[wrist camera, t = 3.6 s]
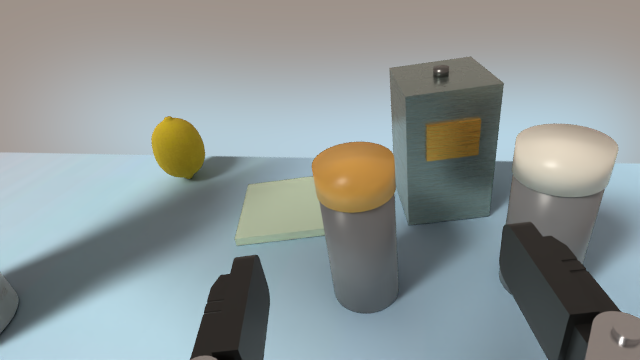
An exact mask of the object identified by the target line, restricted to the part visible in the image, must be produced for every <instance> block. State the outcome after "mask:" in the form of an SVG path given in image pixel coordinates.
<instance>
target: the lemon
mask: <svg viewBox="0 0 640 360" xmlns="http://www.w3.org/2000/svg"><path fill="white" fill-rule="evenodd" d="M152 148H153V153H154V156H155V159H156V161H157V163H158V164H159V166H160V167H161V168H162V169H163V170H164V171H165V172H166V173H168V174H169V175H172V176H175V177H184V178H187V179H190V178H192V177H193V175H194V174H195V173H196V172H197V171H198V170H199V169H200V168H201V167H202V165H203V162H204V159H205V150H204V144H203V141H202V139H201V136H200V135H199V133H198V131H197V130H196V129H195V128H194V126H193V125H192V124H190V123H189V122H187V121H186V120H183V119H179V118H172V117H170V116H168V117H165V118H164V120H163V121H162V122H161V123H160V124H158V125H157V126H156V128H155V129H154V132H153V134H152Z"/></svg>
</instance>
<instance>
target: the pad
mask: <svg viewBox="0 0 640 360" xmlns="http://www.w3.org/2000/svg"><path fill="white" fill-rule="evenodd" d="M324 235H325V232H324V226H323V220H322V214H321V208H320V202H319V200H318V198H317V194H316V189H315V183H314V177H313V176H311V177H303V178H296V179H288V180H280V181H272V182H264V183H256V184H248V188H247V192H246V196H245V200H244V204H243V208H242V212H241V216H240V220H239V224H238V228H237V232H236V236H235V242H236V245H237V246H239V245H247V244H256V243H264V242H273V241H281V240H290V239H298V238H307V237H315V236H324Z"/></svg>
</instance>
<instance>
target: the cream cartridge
mask: <svg viewBox="0 0 640 360" xmlns="http://www.w3.org/2000/svg"><path fill="white" fill-rule="evenodd" d="M617 153H618V145H617V143H616V142H615V141H614V140H613V139H612V138H611V137H609V136H608V135H606V134H604V133H602V132H600V131H597V130H594V129H591V128H587V127H583V126H577V125H571V124H543V125H537V126H533V127H530V128H527V129H525V130H523V131H521V133H519V134H518V135H517V137H516V143H515V151H514V157H513V164H512V173H513V177H512V184H511V191H510V199H509V206H508V213H507V220H506V224H514V223H522V222H532V223H533V224H534V225H535V227H536V228H537V229H538V231H539V232H540V233H541V235H542V236H553V237H554V238H556V239H557V240H559V241H560V242H562V243H564V244H565V245H567V246H568V248H569V249H570V250H571V251H572V252H573V254H574V255H575V256H576V257H577V260H578V261H580V262H581V263H582V265H583V262H584V258H585V255H586V251H587V248H588V244H589V241H590V238H591V234H592V231H593V227H594V224H595V220H596V217H597V214H598V210H599V207H600V203H601V200H602V197H603V193H604V190H605V188H606V187H607V185H608V183H609V180H610V177H611V174H612V170H613V167H614V163H615V160H616V156H617ZM499 278H500V281H501V283H502V285H503V286H504V288H505V289H506V290H507V291H508V292H509V293H510V294H512V293H511V292H510V290H509V288H508V286H507V284H506V283H505V281H504V279H503V277H502V274H501V270H499Z"/></svg>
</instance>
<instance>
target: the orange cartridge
mask: <svg viewBox="0 0 640 360" xmlns="http://www.w3.org/2000/svg"><path fill="white" fill-rule="evenodd" d="M312 171H313V177H314V183H315V189H316V194H317V198H318V200H319V202H320V208H321V214H322V220H323V226H324V232H325V238H326V244H327V250H328V255H329V261H330V267H331V273H332V279H333V285H334V291H335V295H336V298H337V300H338V301H339V302H340V304H341V305H342V306H344V307H345V308H347V309H349V310H351V311H353V312H357V313H375V312H378V311H381V310H383V309H385V308H387V307H388V306H390V305H391V304H392V303H393V302H394V300H395V299H396V297H397V295H398V291H399V282H398V261H397V239H396V217H395V196H394V193H395V190H396V182H395V159H394V155H393V153H392V152H391V151H390V150H389V149H388V148H386V147H384V146H382V145H379V144H375V143H370V142H349V143H344V144H339V145H336V146H333V147H330V148H328V149H326V150H324V151H323V152H321V153H320V154H319V155H317V157H315V159H314V160H313V163H312Z"/></svg>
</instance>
